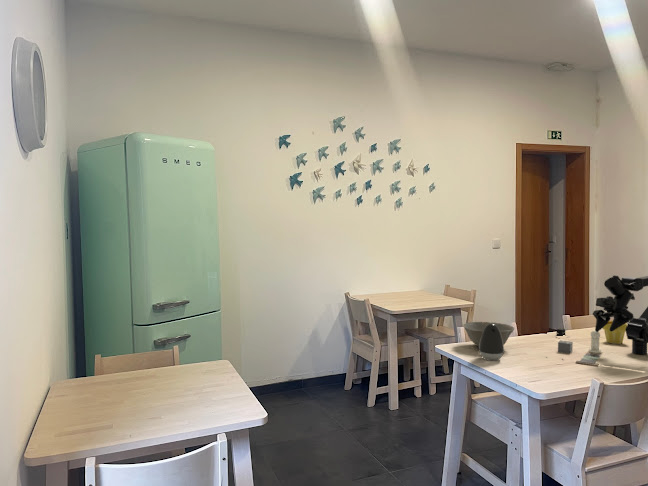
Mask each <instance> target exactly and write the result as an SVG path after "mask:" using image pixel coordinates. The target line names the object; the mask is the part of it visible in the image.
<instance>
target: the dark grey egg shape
mask: <svg viewBox="0 0 648 486" xmlns="http://www.w3.org/2000/svg"><path fill="white" fill-rule="evenodd" d="M504 345H505V344H504ZM504 345H503V340H502V336H501V333H500V330H499V329H498V327H497V326H496V325H495V324H488V325H486V326H485V328H484V330H483V332H482V335H481V338H480V343H479V347H478V352H479V355H480V356H481V358H483V360H486V361H491V362H492V361H493V362H495V361H499V360H500V359H501V358H502V357H503V354H504V352H505V347H504Z"/></svg>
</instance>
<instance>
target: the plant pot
mask: <svg viewBox="0 0 648 486" xmlns="http://www.w3.org/2000/svg"><path fill="white" fill-rule="evenodd" d="M612 322H613V320H610V321H608V324H606V325H605V326H604V327H603V328H602V329H603V330H604V331H603V332H604V335H605V339H606V342H607V343H608V342H609V344H613V343H615V344H614V345H621V343H622V344H623V341H624V337H625V334H626V330H625V329H626V327H627V325H628V324H627V323H625V324H624V325H622V326H620V327H618V328H617V329H615V330H614V331H612V332H611V331H610V330H609V329H610V326H611V324H612Z"/></svg>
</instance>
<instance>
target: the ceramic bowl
mask: <svg viewBox="0 0 648 486" xmlns="http://www.w3.org/2000/svg"><path fill="white" fill-rule="evenodd" d="M488 324H495V325H496V326H497V327H498V329H499V330H500V333H501V336H502V340H503V345H505V344H506V343H507V341H508V339H509V338H510V335H512V333H513V332H514V330H515V327H514V326H513V325H512V326H511V325H509V324H506V323H499V322H489V321H470V322H465V323H464V324H463V328H464V330H465V333H466V334H467V336H468V338H469V340H470V341H471V342H472V343H473V344H474V345H475V346H477V347H478V348H479V343H480V338H481V335H482V332H483V330H484V328H485V326H486V325H488Z"/></svg>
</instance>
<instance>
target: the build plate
mask: <svg viewBox="0 0 648 486" xmlns="http://www.w3.org/2000/svg"><path fill="white" fill-rule="evenodd" d="M563 335H565V336H566V329H565V328H561V327H559V328H557V329H556V335H555V336H563Z"/></svg>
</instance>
